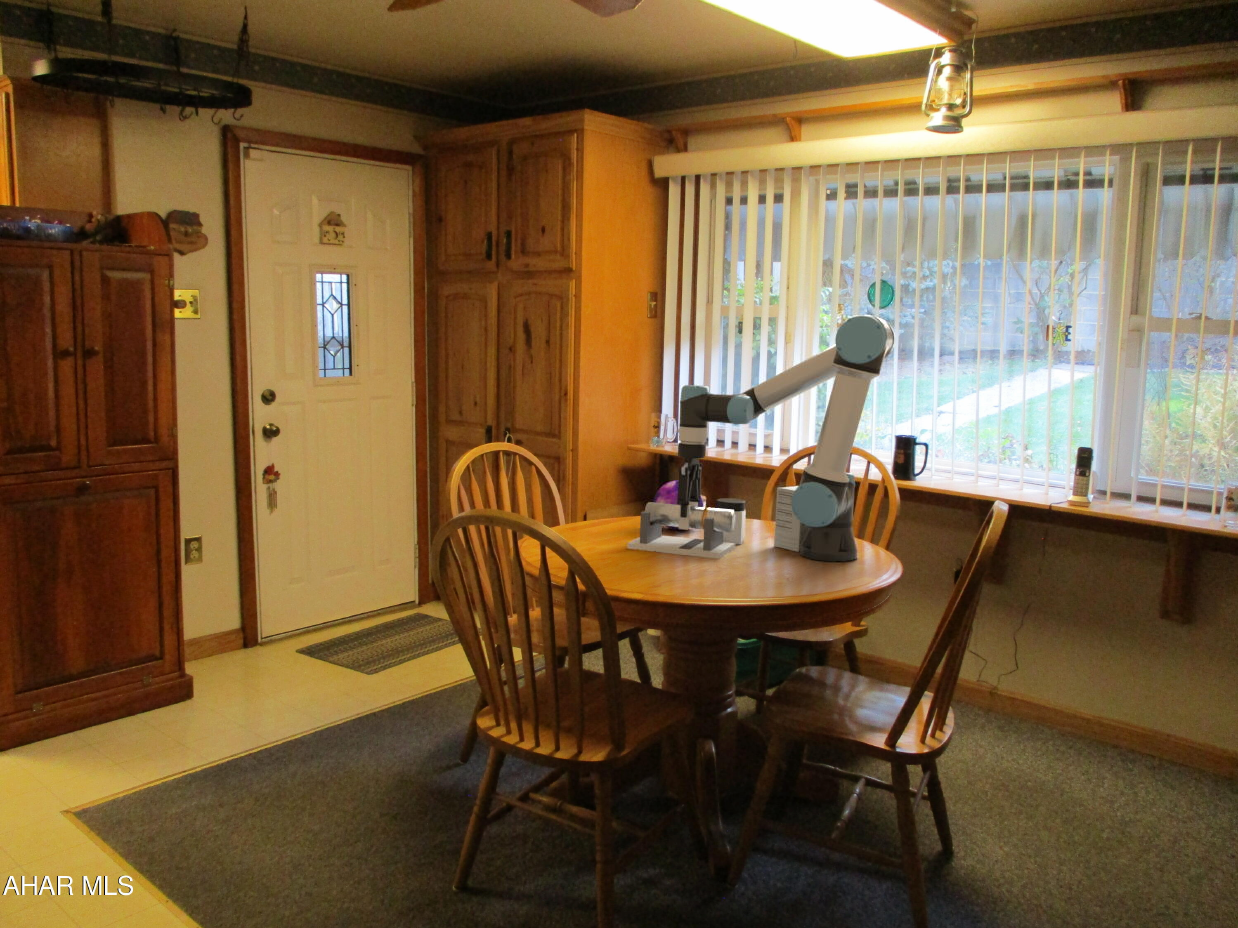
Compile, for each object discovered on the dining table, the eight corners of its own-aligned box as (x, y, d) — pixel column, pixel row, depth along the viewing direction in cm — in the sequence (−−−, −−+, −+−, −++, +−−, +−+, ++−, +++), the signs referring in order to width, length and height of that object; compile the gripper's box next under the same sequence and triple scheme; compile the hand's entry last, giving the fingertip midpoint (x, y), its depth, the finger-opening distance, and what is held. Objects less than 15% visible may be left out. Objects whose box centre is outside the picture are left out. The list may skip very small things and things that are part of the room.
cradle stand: (734, 548, 265) (736, 512, 264) (719, 558, 251) (721, 521, 250) (646, 538, 275) (647, 504, 273) (627, 548, 261) (628, 512, 260)
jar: (750, 543, 273) (752, 501, 272) (730, 546, 268) (732, 503, 267) (728, 537, 280) (729, 497, 279) (708, 540, 275) (709, 499, 274)
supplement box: (798, 552, 263) (801, 491, 260) (772, 546, 270) (775, 487, 268) (820, 548, 269) (824, 489, 267) (795, 542, 276) (798, 484, 274)
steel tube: (736, 523, 260) (734, 505, 257) (730, 537, 256) (728, 518, 252) (653, 515, 269) (650, 497, 266) (646, 528, 265) (643, 510, 261)
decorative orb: (646, 525, 295) (647, 477, 294) (691, 524, 300) (693, 476, 298) (662, 535, 281) (664, 484, 279) (710, 533, 286) (712, 483, 284)
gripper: (689, 439, 269) (685, 520, 271) (667, 444, 251) (663, 531, 254) (715, 441, 266) (711, 523, 269) (694, 446, 248) (690, 534, 251)
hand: (687, 526), depth 261 cm, fingers closed on steel tube, 6 cm apart
